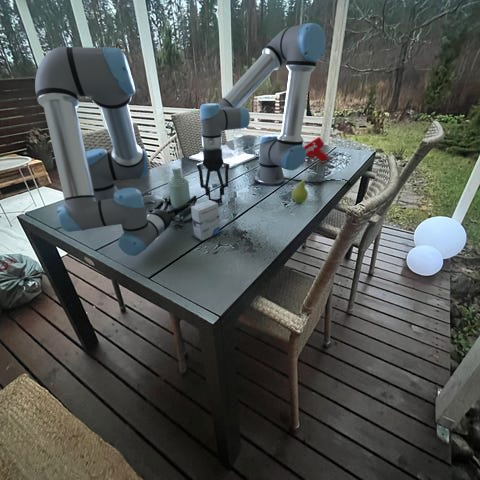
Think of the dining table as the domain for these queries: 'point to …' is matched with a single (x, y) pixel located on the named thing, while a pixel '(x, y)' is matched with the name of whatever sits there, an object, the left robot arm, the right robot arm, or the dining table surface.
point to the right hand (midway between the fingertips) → (215, 201)
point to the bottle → (179, 190)
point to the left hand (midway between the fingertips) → (186, 197)
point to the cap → (215, 199)
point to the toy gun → (316, 149)
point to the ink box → (205, 219)
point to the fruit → (300, 192)
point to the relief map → (229, 156)
